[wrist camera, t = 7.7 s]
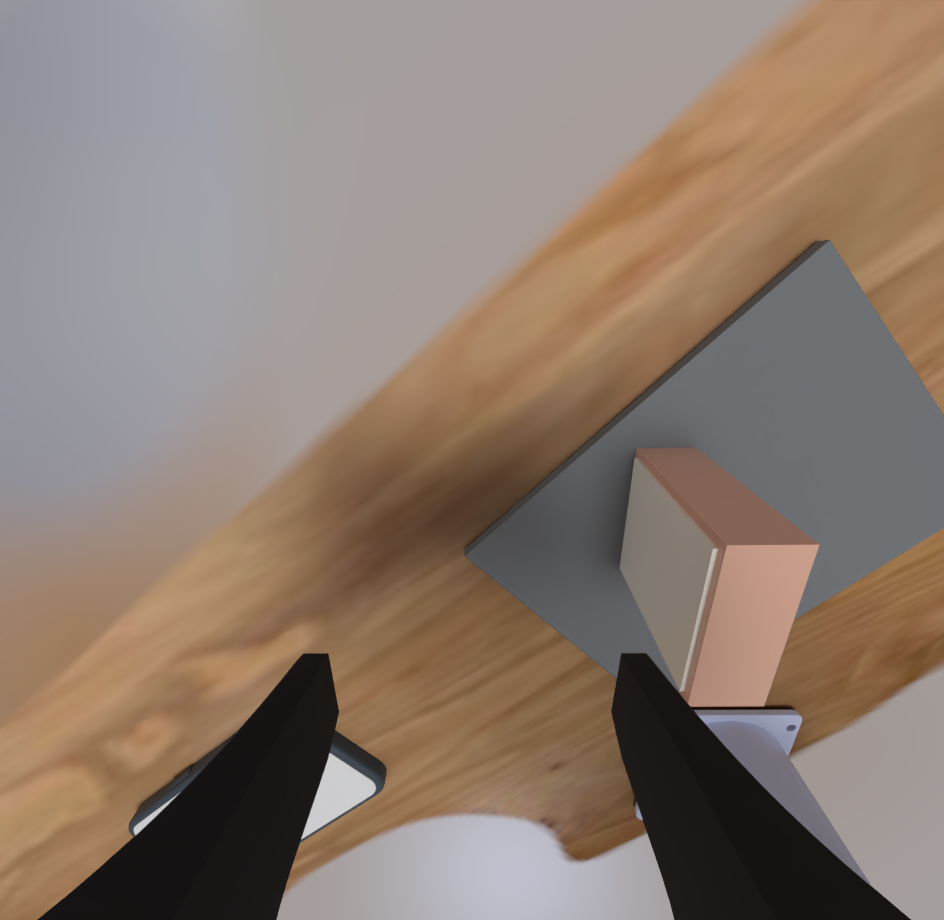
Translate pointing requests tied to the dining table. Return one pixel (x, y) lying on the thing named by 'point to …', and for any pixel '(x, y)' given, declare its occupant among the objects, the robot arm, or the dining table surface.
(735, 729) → the robot arm
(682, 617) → the tile
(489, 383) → the dining table surface
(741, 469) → the mat
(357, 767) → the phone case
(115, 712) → the dining table surface
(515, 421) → the dining table surface
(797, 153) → the dining table surface
